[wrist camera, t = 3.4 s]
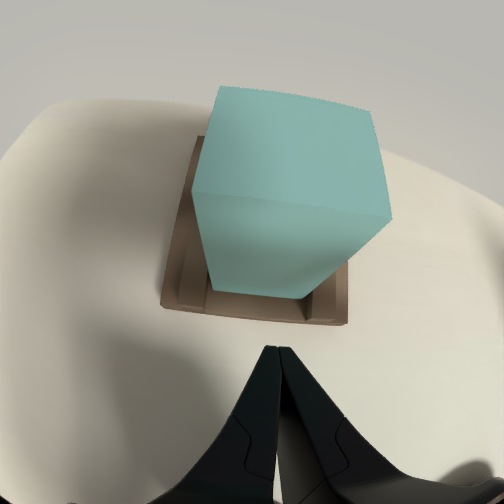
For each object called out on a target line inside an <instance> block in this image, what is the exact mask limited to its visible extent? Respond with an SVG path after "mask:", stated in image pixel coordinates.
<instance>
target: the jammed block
mask: <svg viewBox="0 0 504 504" xmlns="http://www.w3.org/2000/svg"><path fill="white" fill-rule="evenodd" d="M191 192H192V197H193V202H194V207H195V212H196V217H197V222H198V226H199V231H200V236H201V240H202V245H203V249H204V253H205V258H206V262H207V266H208V271H209V275H210V279H211V283H212V288H213V290H216V291H224V292H233V293H242V294H251V295H261V296H270V297H281V298H292V299H303V298H304V297H305V296H306V295H307V294H309V293H310V292H311V291H312V290H313V289H315V288H316V287H317V286H318V285H319V284H321V283H322V282H323V281H324V280H325V279H327V278H328V277H329V276H330V275H331V274H332V273H334V272H335V271H336V270H337V269H338V268H339V267H340V266H342V265H343V264H344V263H345V262H346V261H347V260H348V259H350V258H351V257H352V256H353V255H354V254H355V253H356V252H357V251H359V250H360V249H361V248H362V247H363V246H364V245H365V244H366V243H367V242H368V241H370V240H371V239H372V238H373V237H374V236H375V235H376V234H377V233H378V232H379V231H380V230H381V229H382V228H384V227H385V226H386V225H387V224H388V223H389V222H390V221H391V220H392V214H391V207H390V200H389V194H388V189H387V183H386V178H385V173H384V168H383V163H382V158H381V154H380V149H379V145H378V141H377V137H376V133H375V129H374V125H373V121H372V118H371V114H370V111H366V110H362V109H359V108H355V107H351V106H347V105H343V104H338V103H334V102H330V101H325V100H320V99H315V98H310V97H305V96H300V95H293V94H287V93H280V92H274V91H266V90H258V89H249V88H238V87H226V86H220V88H219V91H218V94H217V97H216V101H215V104H214V107H213V111H212V114H211V117H210V121H209V124H208V128H207V132H206V135H205V139H204V143H203V146H202V150H201V154H200V158H199V162H198V166H197V170H196V174H195V178H194V182H193V186H192V190H191Z"/></svg>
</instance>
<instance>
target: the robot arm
mask: <svg viewBox="0 0 504 504" xmlns="http://www.w3.org/2000/svg"><path fill="white" fill-rule="evenodd" d="M276 454H277V456H278V465H279V474H280V483H281V492H282V501H283V504H487V503H489V502H490V501H492V500H493V499H495V498H496V497H498V496H499V495H501V494H502V493H503V492H504V480H503V479H499V478H495V477H491V478H489V479H487V480H485V481H484V482H482V483H480V484H478V485H474V486H458V485H451V484H445V483H439V482H434V481H429V480H424V479H419V478H415V477H411V476H409V475H407V474H405V473H403V472H401V471H400V470H399V469H397V468H396V467H395V466H394V465H393V464H391V463H390V462H389V461H388V460H387V459H386V458H385V457H384V456H383V455H382V454H380V453H379V452H378V451H377V450H376V449H375V448H374V447H373V446H372V445H371V444H370V443H369V442H368V441H367V440H366V439H365V438H364V437H363V436H362V435H361V434H360V433H359V432H358V431H357V430H356V428H355V427H354V426H353V425H352V424H351V423H350V421H349V420H348V419H347V418H346V417H344V414H343V413H342V412H341V411H340V409H339V408H338V407H337V406H336V404H335V403H334V402H333V401H332V399H331V398H330V397H329V396H328V394H327V393H326V392H325V391H324V389H323V388H322V387H321V386H320V384H319V383H318V382H317V381H316V379H315V378H314V377H313V375H312V374H311V373H310V372H309V370H308V369H307V368H306V367H305V365H304V364H303V363H302V361H301V360H300V359H299V358H298V356H297V355H296V354H295V352H294V351H293V350H292V349H291V348H290V347H282V346H279V347H277V346H269V345H266V346H265V347H264V349H263V351H262V353H261V355H260V357H259V359H258V361H257V363H256V365H255V367H254V369H253V371H252V373H251V375H250V377H249V379H248V381H247V383H246V385H245V387H244V389H243V391H242V393H241V395H240V397H239V399H238V401H237V403H236V405H235V406H234V408H233V410H232V412H231V415H230V416H229V417H228V419H227V421H226V423H225V425H224V426H223V428H222V430H221V431H220V433H219V435H218V436H217V438H216V439H215V440H214V442H213V443H212V444H211V446H210V447H209V448H208V450H207V451H206V452H205V453H204V455H203V456H202V457H201V458H200V459H199V461H198V462H197V463H196V464H195V465H194V466H193V468H192V469H191V470H190V471H189V472H188V473H187V474H186V476H185V477H184V478H183V479H182V480H181V481H180V482H179V483H178V484H176V485H175V486H174V487H173V488H172V489H170V490H169V491H167V492H165V493H164V494H162V495H161V496H159V497H157V498H156V499H154V500H152V501H151V502H149V503H147V504H273V485H274V482H273V481H274V476H275V465H276ZM0 504H12V503H10V502H9V501H8V500H6V499H5V498H3V497H2V496H1V495H0ZM67 504H76V503H72V502H70V503H67ZM495 504H504V498H503V499H501V500H500V501H498V502H497V503H495Z"/></svg>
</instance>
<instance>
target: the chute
mask: <svg viewBox="0 0 504 504" xmlns="http://www.w3.org/2000/svg"><path fill="white" fill-rule="evenodd" d="M204 139H205V136H198V137H197V141H196V144H195V148H194V151H193V155H192V158H191V162H190V166H189V169H188V173H187V177H186V181H185V185H184V189H183V193H182V197H181V201H180V205H179V209H178V214H177V218H176V223H175V227H174V232H173V236H172V241H171V246H170V251H169V256H168V261H167V266H166V272H165V277H164V283H163V288H162V294H161V300H160V305H161V306H162V307H164V308H166V309H172V310H179V311H186V312H193V313H201V314H208V315H216V316H225V317H234V318H243V319H253V320H263V321H274V322H286V323H299V324H315V325H333V326H341V325H344V324H347V323H348V260H347V261H346V262H345V263H344V264H343V265H342V266H340V267H339V268H338V269H337V270H336V271H335V272H334V273H332V274H331V275H330V276H329V277H328V278H327V279H325V280H324V281H323V282H322V283H321V284H319V285H318V286H317V287H316V288H315V289H313V290H312V291H311V292H310V293H309V294H307V295H306V296H305V297H304V298H303V299H292V298H281V297H270V296H261V295H251V294H242V293H233V292H224V291H216V290H213V288H212V283H211V279H210V275H209V271H208V266H207V262H206V258H205V253H204V249H203V245H202V240H201V236H200V231H199V226H198V222H197V217H196V212H195V207H194V202H193V197H192V192H191V190H192V186H193V182H194V178H195V174H196V170H197V166H198V162H199V158H200V154H201V150H202V146H203V143H204Z"/></svg>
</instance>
